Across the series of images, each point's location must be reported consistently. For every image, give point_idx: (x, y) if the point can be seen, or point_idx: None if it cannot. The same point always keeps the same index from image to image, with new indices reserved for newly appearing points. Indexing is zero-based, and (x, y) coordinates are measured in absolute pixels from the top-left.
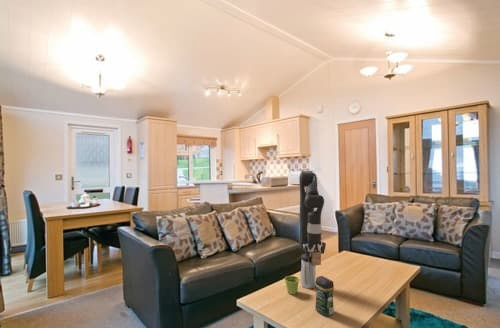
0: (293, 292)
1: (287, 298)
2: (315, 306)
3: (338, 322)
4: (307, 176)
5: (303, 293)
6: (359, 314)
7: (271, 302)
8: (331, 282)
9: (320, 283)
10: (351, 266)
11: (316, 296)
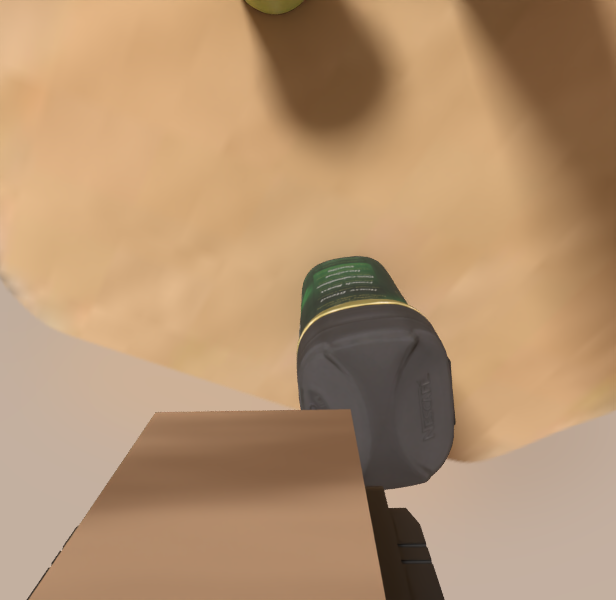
0: (262, 9)
1: (192, 56)
2: (305, 279)
3: None
4: None
5: (355, 24)
6: (521, 399)
7: (49, 69)
8: (409, 484)
9: None
10: None
11: (301, 319)
